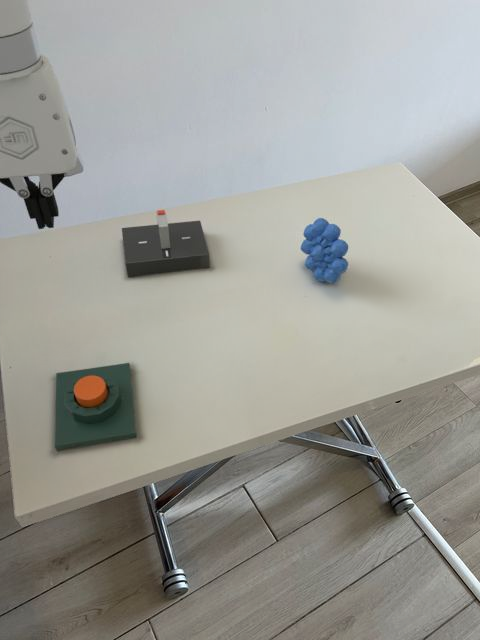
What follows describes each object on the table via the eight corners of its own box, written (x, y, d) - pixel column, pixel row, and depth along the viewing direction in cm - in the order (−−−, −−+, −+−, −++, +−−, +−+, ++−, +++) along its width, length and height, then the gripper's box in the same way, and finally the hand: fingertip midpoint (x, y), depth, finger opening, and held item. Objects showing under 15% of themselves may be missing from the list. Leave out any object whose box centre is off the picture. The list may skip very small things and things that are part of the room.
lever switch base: (127, 277, 90) (125, 262, 87) (124, 241, 96) (121, 227, 94) (209, 268, 92) (209, 253, 90) (200, 233, 99) (200, 219, 96)
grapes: (359, 292, 90) (374, 234, 81) (326, 304, 88) (337, 245, 79) (321, 253, 96) (331, 195, 87) (290, 263, 94) (296, 205, 85)
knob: (170, 248, 90) (168, 225, 87) (161, 249, 90) (158, 225, 87) (167, 232, 93) (164, 209, 90) (158, 233, 93) (156, 209, 90)
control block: (56, 451, 67) (50, 438, 65) (58, 378, 75) (52, 364, 73) (136, 437, 69) (133, 424, 67) (130, 367, 77) (127, 354, 74)
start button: (76, 410, 68) (73, 402, 67) (76, 385, 71) (73, 377, 70) (108, 405, 69) (106, 397, 68) (107, 381, 72) (104, 373, 70)
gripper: (-108, 67, 43) (-27, 248, 57) (81, 60, 46) (115, 234, 60) (-91, 35, 48) (-20, 209, 62) (80, 30, 51) (111, 197, 65)
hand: (46, 221), depth 61 cm, fingers closed
